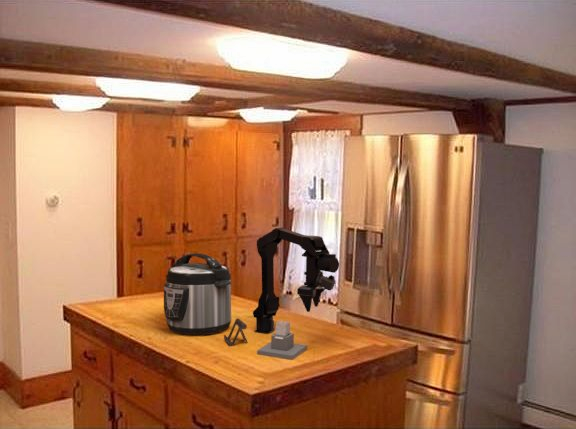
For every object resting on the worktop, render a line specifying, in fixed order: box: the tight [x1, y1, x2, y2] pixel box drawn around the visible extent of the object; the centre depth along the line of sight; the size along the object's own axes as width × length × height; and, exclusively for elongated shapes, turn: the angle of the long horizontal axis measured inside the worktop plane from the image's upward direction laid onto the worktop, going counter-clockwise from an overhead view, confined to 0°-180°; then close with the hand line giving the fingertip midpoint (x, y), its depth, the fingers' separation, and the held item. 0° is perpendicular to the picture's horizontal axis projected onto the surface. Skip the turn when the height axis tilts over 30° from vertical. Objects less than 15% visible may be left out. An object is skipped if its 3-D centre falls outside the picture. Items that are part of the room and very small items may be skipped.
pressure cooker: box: [163, 252, 232, 336], centre depth 246 cm, size 30×28×32 cm
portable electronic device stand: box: [223, 318, 248, 347], centre depth 228 cm, size 9×8×8 cm
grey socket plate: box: [256, 332, 308, 361], centre depth 217 cm, size 14×14×6 cm
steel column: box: [275, 320, 291, 337], centre depth 217 cm, size 4×4×9 cm
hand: (312, 309), depth 226 cm, fingers open, 9 cm apart
